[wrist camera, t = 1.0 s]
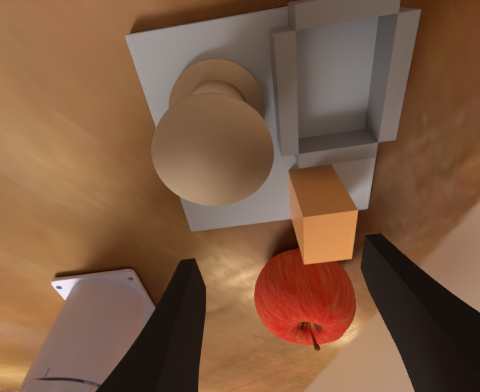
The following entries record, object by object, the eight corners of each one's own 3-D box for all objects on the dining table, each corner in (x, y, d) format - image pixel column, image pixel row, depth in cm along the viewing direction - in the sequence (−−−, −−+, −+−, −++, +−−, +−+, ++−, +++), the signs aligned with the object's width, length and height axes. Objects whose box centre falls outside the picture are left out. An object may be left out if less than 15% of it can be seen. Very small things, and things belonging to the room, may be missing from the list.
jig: (363, 202, 23) (378, 226, 20) (192, 225, 23) (188, 250, 21) (395, -18, 14) (427, -19, 12) (127, 29, 15) (110, 36, 13)
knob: (268, 144, 18) (282, 201, 14) (184, 156, 19) (168, 216, 14) (259, 50, 15) (273, 79, 10) (157, 67, 16) (124, 103, 11)
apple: (356, 245, 26) (399, 331, 19) (308, 295, 30) (330, 379, 23) (278, 219, 24) (297, 307, 17) (239, 277, 28) (242, 365, 21)
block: (329, 209, 22) (351, 258, 18) (290, 214, 22) (303, 264, 18) (331, 164, 20) (358, 210, 16) (288, 170, 20) (303, 217, 16)
